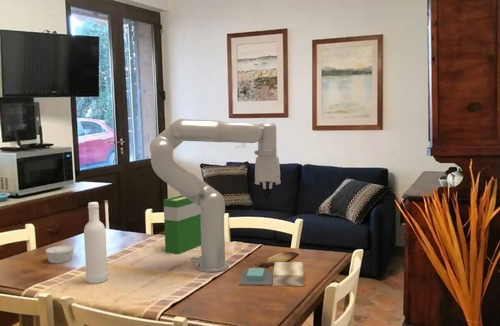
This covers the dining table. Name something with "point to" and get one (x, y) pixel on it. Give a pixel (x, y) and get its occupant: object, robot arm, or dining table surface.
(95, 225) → the bottle
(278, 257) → the parchment
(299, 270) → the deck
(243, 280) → the mat
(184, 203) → the hardback book
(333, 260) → the dining table surface
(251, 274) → the tile
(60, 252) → the ramekin
